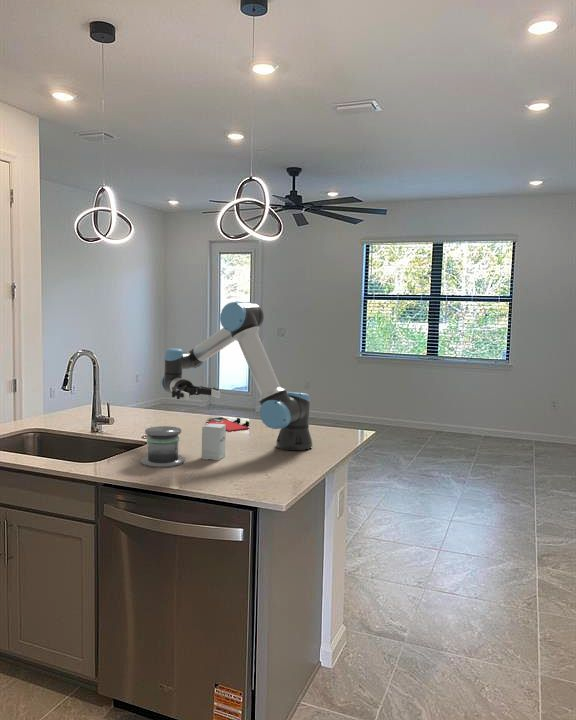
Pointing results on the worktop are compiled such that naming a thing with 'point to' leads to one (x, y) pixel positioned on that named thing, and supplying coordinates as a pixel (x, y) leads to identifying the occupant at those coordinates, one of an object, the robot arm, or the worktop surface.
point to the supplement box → (213, 441)
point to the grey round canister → (162, 447)
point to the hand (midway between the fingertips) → (204, 396)
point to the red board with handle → (230, 424)
